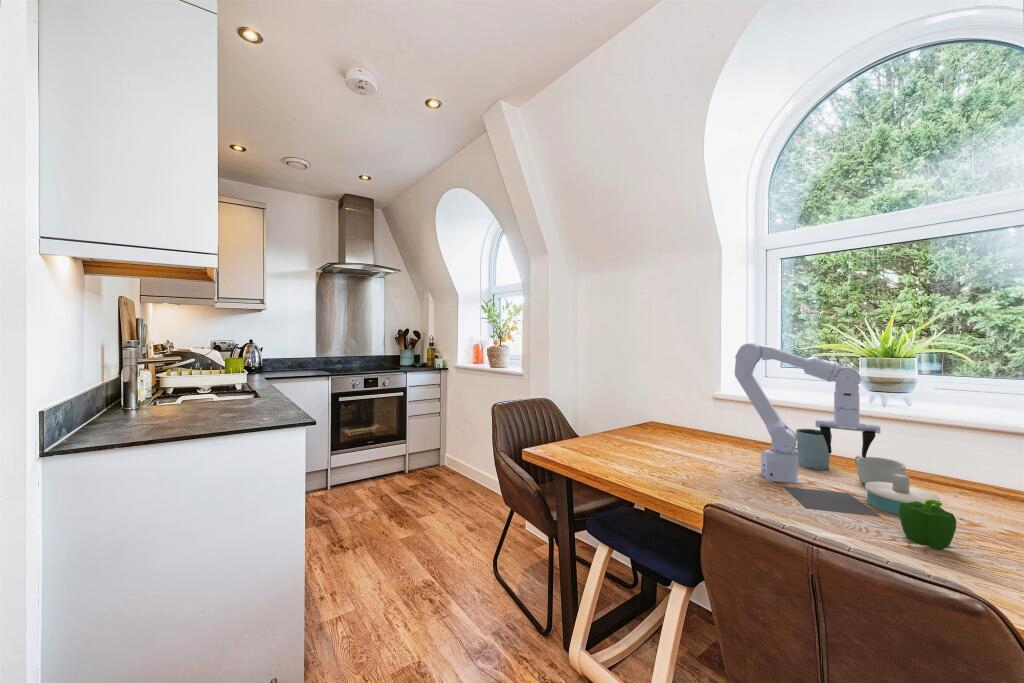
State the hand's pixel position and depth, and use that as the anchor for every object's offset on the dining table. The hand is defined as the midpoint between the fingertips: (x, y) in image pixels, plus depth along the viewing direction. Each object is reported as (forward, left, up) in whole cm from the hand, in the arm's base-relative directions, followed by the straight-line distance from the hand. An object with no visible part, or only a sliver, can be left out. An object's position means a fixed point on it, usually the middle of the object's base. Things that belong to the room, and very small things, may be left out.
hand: (846, 454), depth 118 cm
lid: (+7, -12, -6) cm, 15 cm away
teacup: (+11, +7, -11) cm, 17 cm away
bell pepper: (+1, -32, -11) cm, 34 cm away
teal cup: (+1, +24, -11) cm, 26 cm away
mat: (-9, -12, -10) cm, 18 cm away
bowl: (+7, -12, -10) cm, 17 cm away
